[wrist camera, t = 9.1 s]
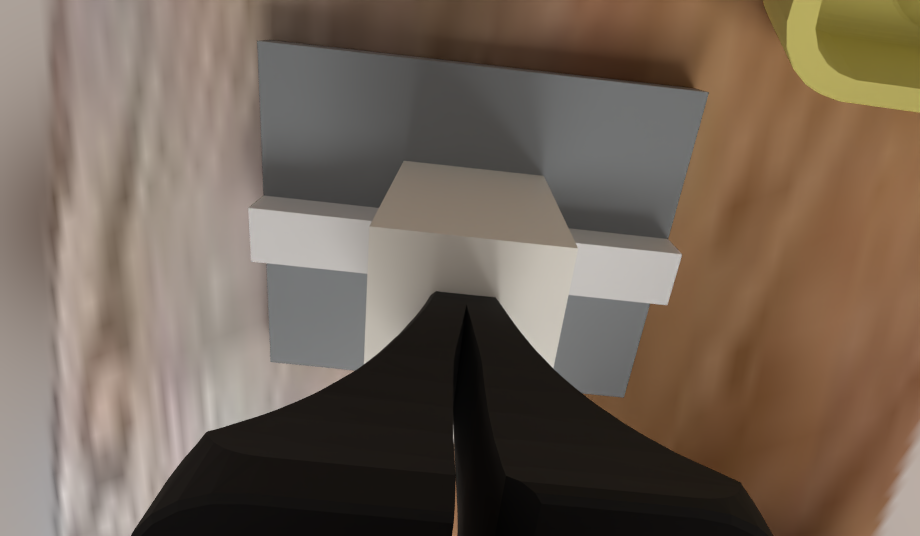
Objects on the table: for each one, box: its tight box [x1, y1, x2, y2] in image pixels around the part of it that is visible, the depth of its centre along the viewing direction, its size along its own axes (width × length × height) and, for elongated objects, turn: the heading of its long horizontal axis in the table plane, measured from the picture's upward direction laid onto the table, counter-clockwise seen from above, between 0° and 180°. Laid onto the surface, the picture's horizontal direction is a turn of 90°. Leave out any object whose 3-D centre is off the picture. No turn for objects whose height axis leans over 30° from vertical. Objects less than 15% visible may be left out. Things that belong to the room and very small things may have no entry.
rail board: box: [248, 40, 709, 398], centre depth 16 cm, size 12×10×2 cm
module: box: [364, 161, 578, 440], centre depth 14 cm, size 4×5×6 cm
